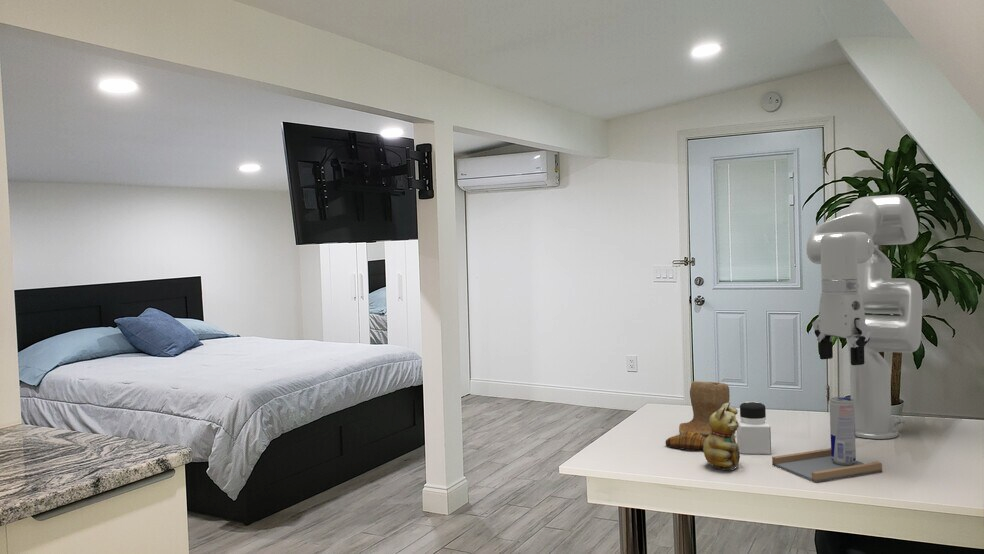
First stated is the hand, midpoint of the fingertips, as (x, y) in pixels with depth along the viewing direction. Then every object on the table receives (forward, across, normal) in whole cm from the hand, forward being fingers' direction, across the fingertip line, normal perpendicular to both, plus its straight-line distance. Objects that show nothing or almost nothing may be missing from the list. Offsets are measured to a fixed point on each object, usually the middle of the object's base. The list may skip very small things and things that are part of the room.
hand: (841, 361), depth 165 cm
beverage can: (+24, 0, 0) cm, 24 cm away
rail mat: (+24, 0, +5) cm, 25 cm away
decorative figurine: (+24, +10, +26) cm, 37 cm away
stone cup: (+24, +36, +13) cm, 46 cm away
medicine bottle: (+24, +19, +11) cm, 33 cm away
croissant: (+25, +26, +24) cm, 43 cm away
